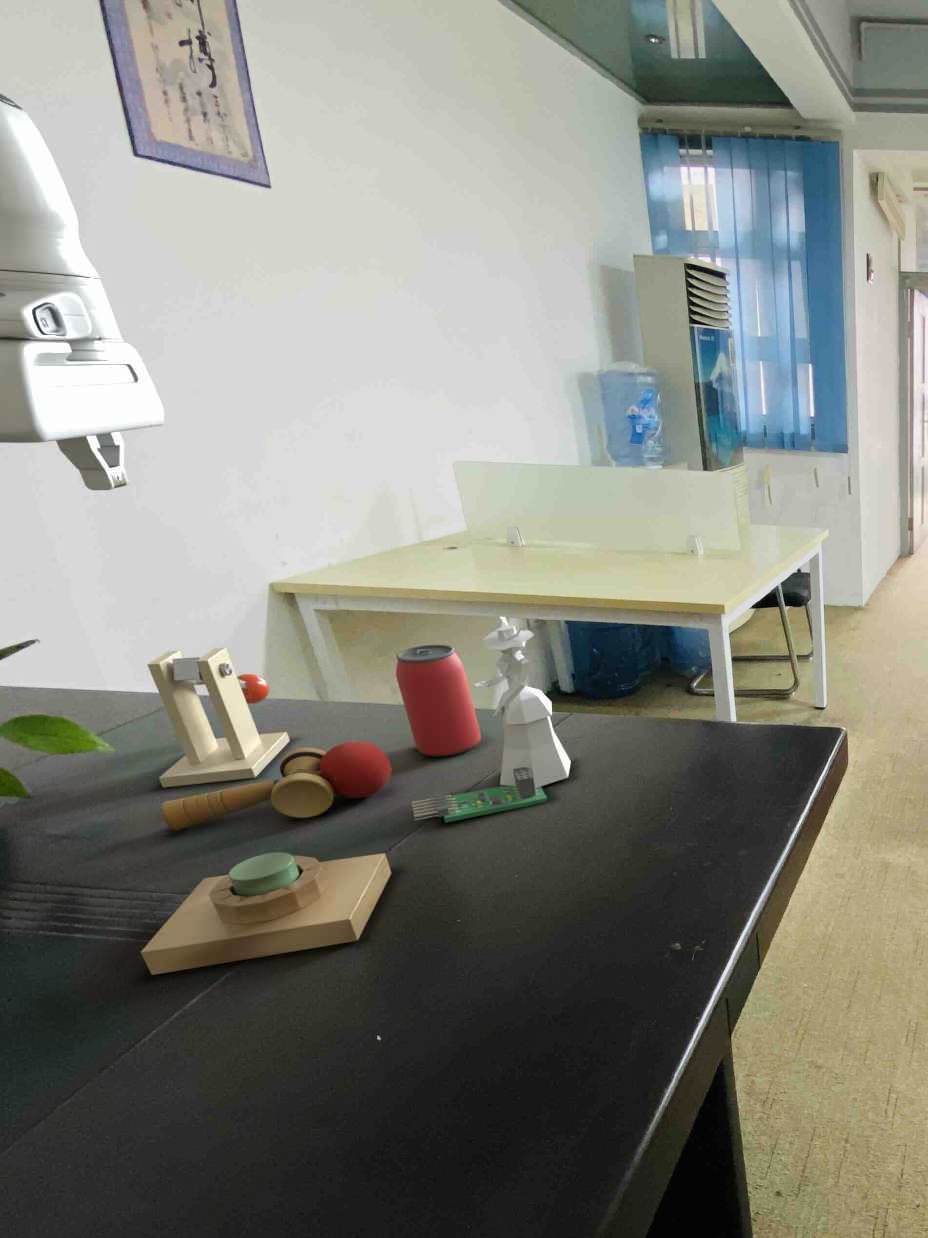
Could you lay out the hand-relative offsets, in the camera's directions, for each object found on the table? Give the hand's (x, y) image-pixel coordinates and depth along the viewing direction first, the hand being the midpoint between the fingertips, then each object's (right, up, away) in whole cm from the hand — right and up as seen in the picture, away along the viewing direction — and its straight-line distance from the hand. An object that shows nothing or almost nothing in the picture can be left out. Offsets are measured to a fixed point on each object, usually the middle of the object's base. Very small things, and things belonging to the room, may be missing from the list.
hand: (109, 488), depth 72 cm
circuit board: (+26, -30, +12) cm, 41 cm away
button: (+21, -34, -7) cm, 41 cm away
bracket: (-7, -25, +19) cm, 32 cm away
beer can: (+15, -24, +24) cm, 37 cm away
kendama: (+8, -30, +10) cm, 33 cm away
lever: (-8, -18, +19) cm, 28 cm away
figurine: (+28, -27, +19) cm, 43 cm away
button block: (+20, -38, -6) cm, 43 cm away
